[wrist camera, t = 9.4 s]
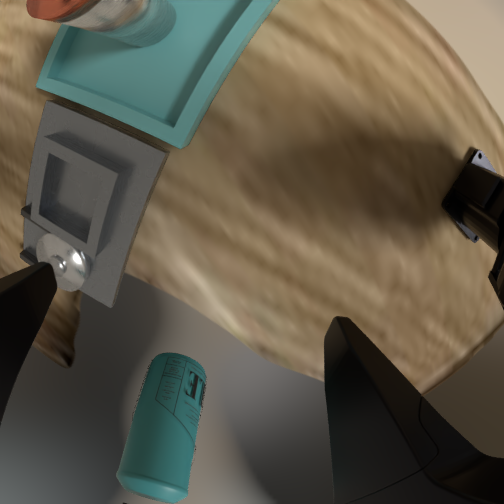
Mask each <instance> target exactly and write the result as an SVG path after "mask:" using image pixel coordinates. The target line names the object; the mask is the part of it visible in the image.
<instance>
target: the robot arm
mask: <svg viewBox="0 0 504 504" xmlns="http://www.w3.org/2000/svg"><path fill="white" fill-rule="evenodd" d="M478 154H479V157H478ZM447 204H448V206H447ZM442 207H443V209H444V210H445V211H446V212H447V213H448V214H449V215H450V216H451V218H452V219H453V220H454V221H455V222H456V223H457V224H458V225H459V227H460V228H461V229H462V230H463V231H464V232H465V234H466V235H467V236H468V237H469V238H470V240H471V241H472V242H474V243H476V242H477V241H478V240H479V238H481V239H482V240H483V241H484V242H485V243H486V244H487V245H489V246H490V247H491V248H492V249H493V250H494V251H495V252H496V253H497V257H496V260H495V263H494V265H493V268H492V270H491V271H490V273H489V276H488V278H489V280H490V282H491V284H492V286H493V288H494V290H495V292H496V294H497V296H498V299H499V301H500V303H501V305H502V307H503V310H504V177H503V176H501V175H499V174H497V173H496V171H495V170H494V168H493V167H492V165H491V163H490V162H489V160H488V159H487V157H486V156H485V155H484V153H483V152H482V151H481V150H478V149H476V150H475V151H474V153H473V154H472V156H471V158H470V160H469V161H468V163H467V165H466V166H465V168H464V169H463V171H462V173H461V174H460V176H459V177H458V179H457V181H456V182H455V184H454V185H453V187H452V188H451V190H450V191H449V193H448V194H447V196H446V197H445V199H444V200H443V202H442ZM474 237H475V238H474ZM56 291H57V281H56V277H55V273H54V269H53V266H52V265H51V264H50V263H47V262H43V261H42V262H39V263H36V264H34V265H31V266H29V267H26V268H24V269H21V270H19V271H17V272H14V273H12V274H10V275H7V276H5V277H3V278H1V279H0V426H1V422H2V418H3V415H4V412H5V409H6V406H7V403H8V400H9V398H10V395H11V392H12V389H13V387H14V384H15V382H16V379H17V377H18V374H19V372H20V370H21V367H22V365H23V363H24V361H25V358H26V356H27V354H28V351H29V349H30V348H31V345H32V343H33V341H34V339H35V337H36V335H37V333H38V331H39V329H40V327H41V325H42V323H43V320H44V318H45V316H46V313H47V311H48V309H49V306H50V304H51V302H52V300H53V297H54V295H55V293H56ZM324 381H325V395H326V404H327V413H328V424H329V435H330V446H331V459H332V473H333V490H334V491H333V492H334V504H504V458H497V457H491V456H488V455H486V454H483V453H482V452H480V451H479V450H477V449H476V448H475V447H474V446H473V445H472V444H471V443H470V442H469V441H467V440H466V439H465V438H464V437H463V436H462V435H461V434H460V433H459V432H458V431H457V430H455V429H454V428H453V427H452V426H451V425H450V424H449V423H448V422H447V421H446V420H445V419H444V418H443V417H442V416H441V415H440V414H439V413H438V412H437V411H436V410H435V409H434V408H433V407H432V406H431V405H430V403H429V402H428V401H427V400H426V399H425V398H424V397H423V396H421V394H420V393H419V391H418V390H417V389H416V388H415V387H414V386H413V385H412V384H411V383H410V382H409V381H408V380H407V378H406V377H405V376H404V375H403V374H402V373H401V372H400V371H399V370H398V369H397V368H396V367H395V366H394V365H393V363H392V362H391V361H390V360H389V359H388V358H387V357H386V356H385V355H384V354H383V353H382V352H381V351H380V350H379V349H378V348H377V347H376V345H375V344H374V343H373V342H372V341H371V340H370V339H369V338H368V337H367V336H366V335H365V334H364V333H363V332H362V331H361V330H360V329H359V328H358V327H357V326H356V325H355V324H354V323H353V322H352V320H351V319H349V318H348V317H342V316H336V317H334V318H333V320H332V322H331V324H330V327H329V329H328V331H327V333H326V335H325V339H324Z"/></svg>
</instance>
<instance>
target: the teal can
mask: <svg viewBox="0 0 504 504" xmlns="http://www.w3.org/2000/svg"><path fill="white" fill-rule="evenodd" d="M148 369H149V370H148V373H147V376H146V378H145V382H144V383H143V384H144V385H143V388H142V391H141V394H140V398H139V401H138V404H137V407H136V410H135V414H134V417H133V420H132V421H133V422H132V425H131V428H130V431H129V435H128V438H127V442H126V445H125V448H124V452H123V455H122V459H121V463H120V467H119V470H118V472H117V474H116V476H117V478H118V480H119V481H120V483H121V484H122V486H123V487H124V488H125V490H126V491H128V492H131V493H133V494H136V495H139V496H142V497H145V498H148V499H152V500H156V501H161V502H165V503H172V504H173V503H176V502H178V501H180V500H182V499H184V498H185V497H187V495H188V484H189V477H190V470H191V463H192V459H193V453H194V447H195V440H196V434H197V428H198V422H199V416H201V415H200V410H201V407H202V400H203V394H204V389H205V386H206V385H205V381H206V375H205V371H204V369H203V367H202V366H201V365H200V364H199V363H198V362H196V361H195V360H193V359H191V358H190V357H187V356H184V355H181V354H177V353H162V354H159V355H157V356H156V357H155V358H154V359H153V360H152V362H151V365H150V367H149V368H148ZM195 450H196V449H195ZM123 504H126V503H123Z"/></svg>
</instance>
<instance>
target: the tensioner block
mask: <svg viewBox="0 0 504 504" xmlns="http://www.w3.org/2000/svg"><path fill="white" fill-rule="evenodd" d="M169 153H170V151H169V150H167V149H165V148H163V147H161V146H159V145H157V144H154V143H152V142H150V141H148V140H146V139H144V138H142V137H140V136H138V135H135V134H133V133H131V132H129V131H127V130H124V129H122V128H120V127H118V126H116V125H113V124H111V123H109V122H107V121H104V120H102V119H100V118H98V117H95V116H93V115H91V114H88V113H86V112H83V111H81V110H79V109H76V108H74V107H71V106H69V105H66V104H64V103H62V102H59V101H56V100H47V101H46V104H45V107H44V111H43V114H42V118H41V122H40V125H39V129H38V133H37V138H36V142H35V147H34V151H33V157H32V162H31V168H30V174H29V181H28V188H27V197H26V206H25V207H24V208H22V209H21V215H22V216H24V217H25V221H24V250H23V251H22V252H21V253H20V258H21V259H22V260H24V261H25V262H26V263H28V264H29V265H34V264H36V263H39V262H42V261H43V262H47V263H50V264H51V265H52V266H53V269H54V273H55V277H56V281H57V287H59V288H61V289H63V290H66V291H75V290H78V289H79V290H81V291H82V292H84V293H86V294H88V295H89V296H91V297H92V298H94V299H96V300H98V301H99V302H101V303H103V304H105V305H107V306H108V307H110V308H112V306H113V305H114V303H115V301H116V297H117V294H118V290H119V287H120V283H121V280H122V277H123V273H124V270H125V267H126V264H127V260H128V257H129V254H130V251H131V248H132V245H133V242H134V239H135V237H136V234H137V231H138V228H139V225H140V223H141V220H142V217H143V215H144V212H145V210H146V207H147V204H148V202H149V199H150V197H151V194H152V192H153V190H154V187H155V185H156V182H157V180H158V178H159V175H160V173H161V171H162V168H163V166H164V164H165V162H166V160H167V157H168V155H169Z"/></svg>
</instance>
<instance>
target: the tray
mask: <svg viewBox="0 0 504 504" xmlns="http://www.w3.org/2000/svg"><path fill="white" fill-rule="evenodd" d="M168 1H169V2H170V3H171V4H172V5H173V7H174V8H175V10H176V16H177V18H176V23H175V25H174V27H173V29H172V31H171V32H170V33H169V34H168V36H167V37H165V38H164V39H163V40H162V41H160V42H158V43H157V44H154V45H152V46H148V47H135V46H132V45H130V44H127V43H124V42H121V41H119V40H116V39H113V38H110V37H107V36H104V35H101V34H98V33H95V32H91V31H88V30H84V29H81V28H77V27H74V26H70V25H66V24H62V25H61V27H60V29H59V31H58V33H57V35H56V37H55V39H54V41H53V43H52V46H51V48H50V50H49V53H48V55H47V57H46V60H45V62H44V65H43V67H42V70H41V73H40V76H39V78H38V81H37V84H36V87H37V88H40V89H43V90H45V91H48V92H51V93H53V94H56V95H59V96H61V97H64V98H67V99H69V100H72V101H74V102H77V103H79V104H82V105H84V106H87V107H89V108H91V109H94V110H96V111H99V112H101V113H103V114H106V115H108V116H110V117H113V118H115V119H117V120H119V121H122V122H124V123H126V124H128V125H131V126H133V127H135V128H137V129H139V130H142V131H144V132H146V133H148V134H150V135H152V136H155V137H157V138H159V139H161V140H163V141H165V142H167V143H169V144H171V145H173V146H175V147H177V148H179V149H182V148H184V147H185V146H187V145H189V143H190V141H191V139H192V137H193V135H194V134H195V132H196V130H197V128H198V126H199V124H200V122H201V120H202V118H203V117H204V115H205V113H206V111H207V109H208V108H209V106H210V104H211V102H212V101H213V99H214V97H215V95H216V94H217V92H218V90H219V89H220V87H221V85H222V83H223V82H224V80H225V79H226V77H227V75H228V74H229V72H230V70H231V69H232V67H233V66H234V64H235V62H236V61H237V59H238V58H239V56H240V55H241V53H242V52H243V50H244V49H245V47H246V46H247V44H248V43H249V41H250V40H251V38H252V37H253V36H254V34H255V33H256V31H257V30H258V28H259V27H260V26H261V24H262V23H263V22H264V20H265V19H266V17H267V16H268V15H269V13H270V12H271V11H272V9H273V8H274V7H275V6H276V4H277V3H278V2H279V0H168Z"/></svg>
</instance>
